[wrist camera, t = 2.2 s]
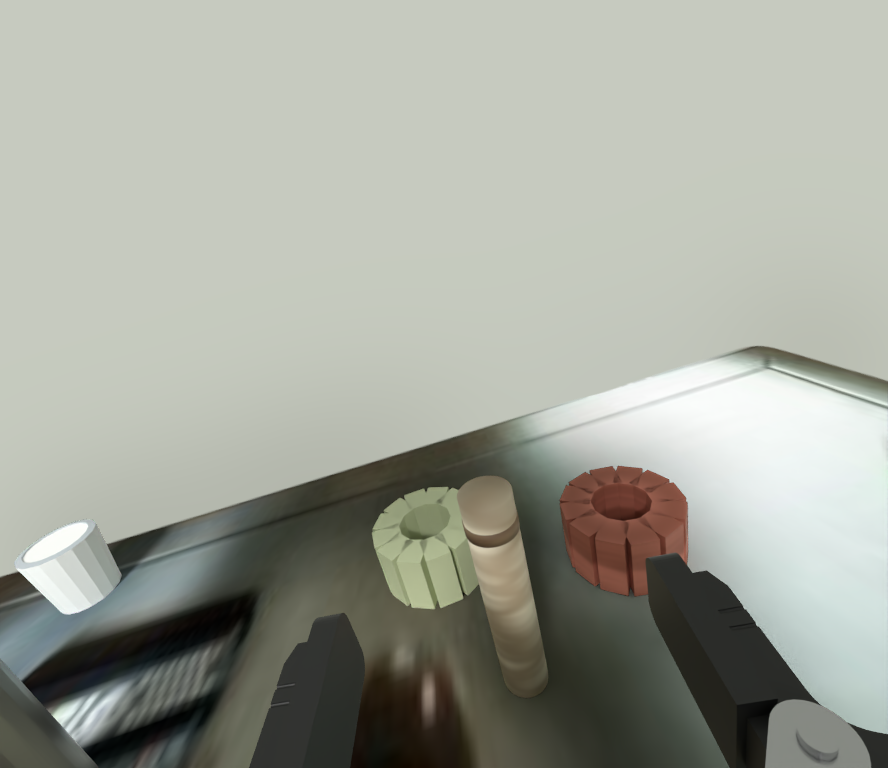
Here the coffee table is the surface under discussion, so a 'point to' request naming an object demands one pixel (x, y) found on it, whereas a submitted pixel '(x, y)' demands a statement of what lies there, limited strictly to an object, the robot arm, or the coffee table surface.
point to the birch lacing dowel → (504, 582)
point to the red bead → (622, 525)
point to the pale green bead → (425, 549)
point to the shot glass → (71, 566)
